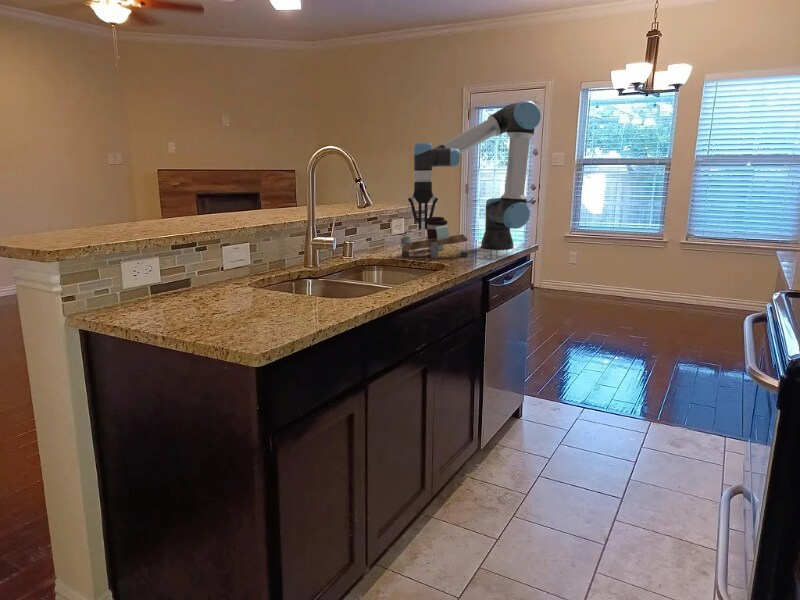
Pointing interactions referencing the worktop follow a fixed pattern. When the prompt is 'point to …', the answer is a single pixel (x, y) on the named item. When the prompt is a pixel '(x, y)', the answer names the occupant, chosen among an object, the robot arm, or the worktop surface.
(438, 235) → the light blue block
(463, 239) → the beam
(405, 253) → the fulcrum
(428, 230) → the coffee cup
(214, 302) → the worktop surface
